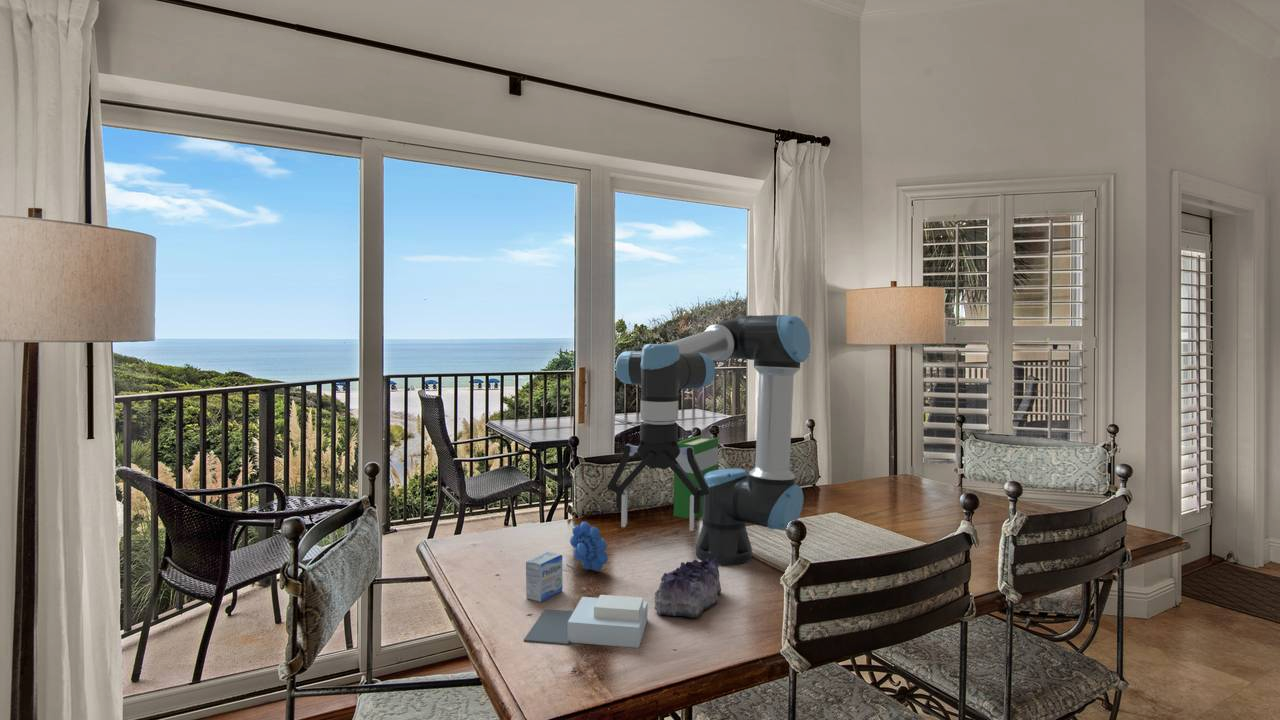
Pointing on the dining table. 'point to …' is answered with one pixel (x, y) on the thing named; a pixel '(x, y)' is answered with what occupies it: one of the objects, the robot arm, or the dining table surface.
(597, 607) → the cream rectangular box
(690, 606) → the geode
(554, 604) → the dining table surface
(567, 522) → the dining table surface
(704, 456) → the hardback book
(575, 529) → the grapes
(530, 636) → the mat
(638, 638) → the block
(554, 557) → the medicine box
